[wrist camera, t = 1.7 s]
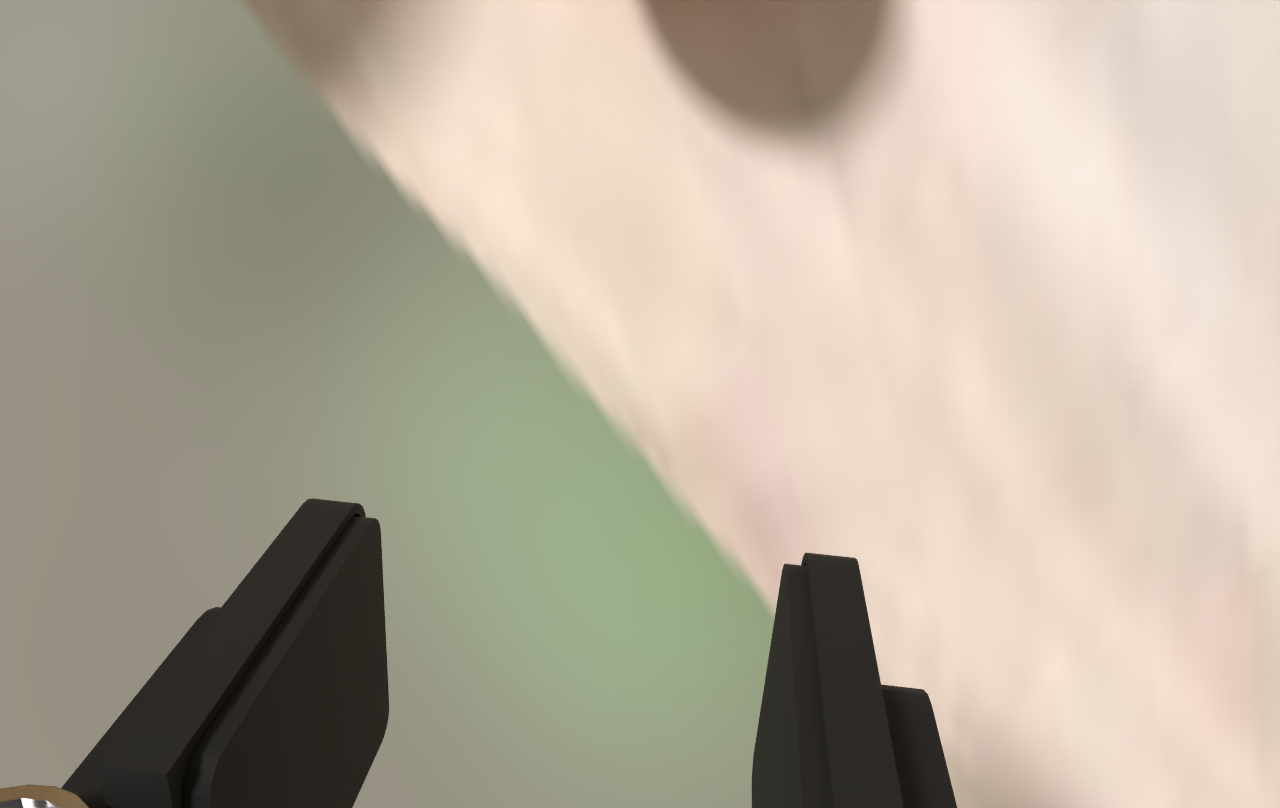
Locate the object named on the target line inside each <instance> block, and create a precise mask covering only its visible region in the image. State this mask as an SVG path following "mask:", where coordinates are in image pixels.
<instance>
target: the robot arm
mask: <svg viewBox="0 0 1280 808" xmlns="http://www.w3.org/2000/svg"><path fill="white" fill-rule="evenodd" d="M380 531H381V530H380V524H379V521H378V520H377V519H374V518H366V517H365V512H364V509H363V507H362V506H361V505H360V504H358V503H348V502H339V501H330V500H321V499H308V500H307V501H306V502H304V503H303V504H302V506H301V507H300V508H299V510H298V511H297V512H296V513H295V515H294V516H293V517H292V518H291V520H290V521H289V522H288V524H287V525H286V526H285V527H284V529H283V530H282V531H281V533H280V534H279V535H278V536H277V538H276V539H275V540H274V541H273V543H272V544H271V545H270V546H269V548H268V549H267V550H266V551H265V553H264V554H263V555H262V557H261V558H260V559H259V560H258V562H257V563H256V564H255V565H254V567H253V568H252V569H251V571H250V572H249V573H248V574H247V576H246V577H245V578H244V579H243V581H242V582H241V584H240V585H239V586H238V587H237V588H236V590H235V591H234V592H233V593H232V595H231V596H230V597H229V599H228V600H227V601H226V602H225V604H224V605H223V606H222V607H221V608H219V607H215V608H213V609H210V610H207V611H206V612H205V613H204V614H203V615H202V616H201V617H200V618H199V619H198V620H197V621H196V622H195V623H194V625H193V626H192V627H191V628H190V629H189V631H188V632H187V633H186V634H185V636H184V637H183V638H182V639H181V641H180V642H179V643H178V644H177V646H176V647H175V648H174V649H173V650H172V652H171V653H170V654H169V655H168V657H167V658H166V659H165V660H164V662H163V663H162V664H161V665H160V667H159V668H158V669H157V670H156V672H155V673H154V674H153V675H152V676H151V678H150V679H149V680H148V681H147V683H146V684H145V685H144V687H143V688H142V689H141V690H140V691H139V693H138V694H137V695H136V696H135V697H134V699H133V700H132V701H131V702H130V704H129V705H128V706H127V707H126V709H125V710H124V711H123V712H122V714H121V715H120V716H119V717H118V718H117V720H116V721H115V722H114V724H113V725H112V726H111V727H110V728H109V730H108V731H107V732H106V734H105V735H104V736H103V737H102V738H101V740H100V741H99V742H98V743H97V745H96V746H95V747H94V748H93V749H92V751H91V752H90V753H89V754H88V756H87V757H86V758H85V759H84V761H83V762H82V763H81V764H80V766H79V767H78V768H77V769H76V770H75V772H74V773H73V774H72V776H71V777H70V778H69V779H68V781H67V782H66V783H65V784H64V785H63V787H62V788H58V787H56V786H42V785H23V786H16V787H9V788H3V789H0V808H352V807H353V805H354V802H355V800H356V798H357V796H358V793H359V791H360V789H361V787H362V784H363V783H364V780H365V778H366V776H367V774H368V771H369V769H370V767H371V765H372V762H373V761H374V758H375V756H376V754H377V751H378V749H379V747H380V745H381V743H382V740H383V738H384V734H385V730H386V727H387V722H388V715H389V695H388V674H387V653H386V632H385V611H384V590H383V569H382V548H381V532H380ZM752 808H957V806H956V801H955V797H954V793H953V789H952V785H951V781H950V777H949V773H948V769H947V765H946V761H945V757H944V753H943V749H942V745H941V741H940V737H939V733H938V729H937V725H936V721H935V717H934V713H933V709H932V705H931V702H930V699H929V697H928V694H927V693H926V692H925V691H924V690H923V689H914V688H906V687H897V686H889V685H881V682H880V677H879V672H878V666H877V661H876V656H875V650H874V645H873V639H872V634H871V629H870V623H869V618H868V613H867V607H866V602H865V597H864V591H863V586H862V580H861V575H860V570H859V565H858V561H857V559H856V558H850V557H841V556H832V555H822V554H813V553H805V554H804V556H803V560H802V564H801V566H800V565H791V564H784V566H783V570H782V576H781V582H780V588H779V595H778V601H777V608H776V614H775V621H774V627H773V634H772V640H771V647H770V653H769V660H768V666H767V672H766V679H765V685H764V692H763V698H762V705H761V711H760V718H759V724H758V730H757V737H756V743H755V750H754V758H753V770H752Z"/></svg>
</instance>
